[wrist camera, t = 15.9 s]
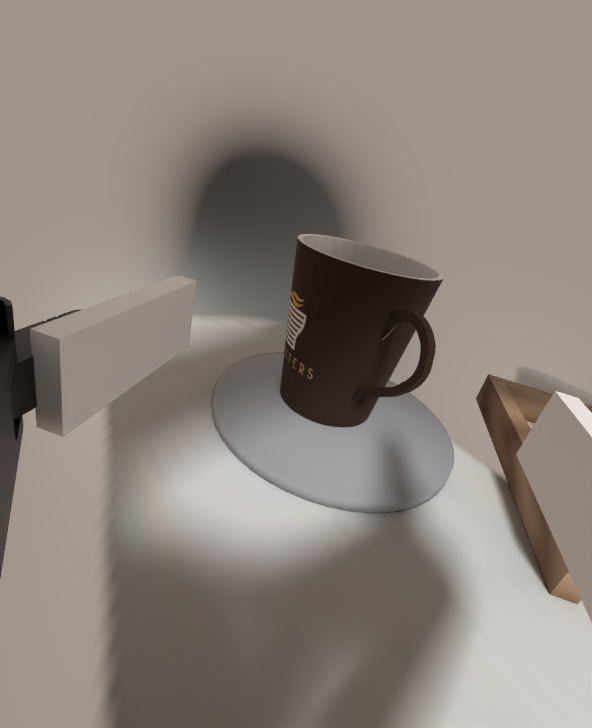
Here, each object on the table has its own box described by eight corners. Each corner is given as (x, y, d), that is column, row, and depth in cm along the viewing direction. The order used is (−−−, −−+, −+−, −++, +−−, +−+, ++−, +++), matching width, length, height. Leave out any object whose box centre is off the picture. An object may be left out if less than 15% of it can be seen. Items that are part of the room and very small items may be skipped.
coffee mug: (277, 357, 31) (307, 228, 27) (382, 387, 31) (430, 261, 26) (233, 444, 21) (272, 256, 16) (393, 490, 20) (475, 311, 16)
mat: (499, 474, 25) (505, 465, 25) (290, 554, 17) (294, 542, 16) (350, 356, 37) (352, 349, 36) (179, 367, 28) (180, 357, 28)
